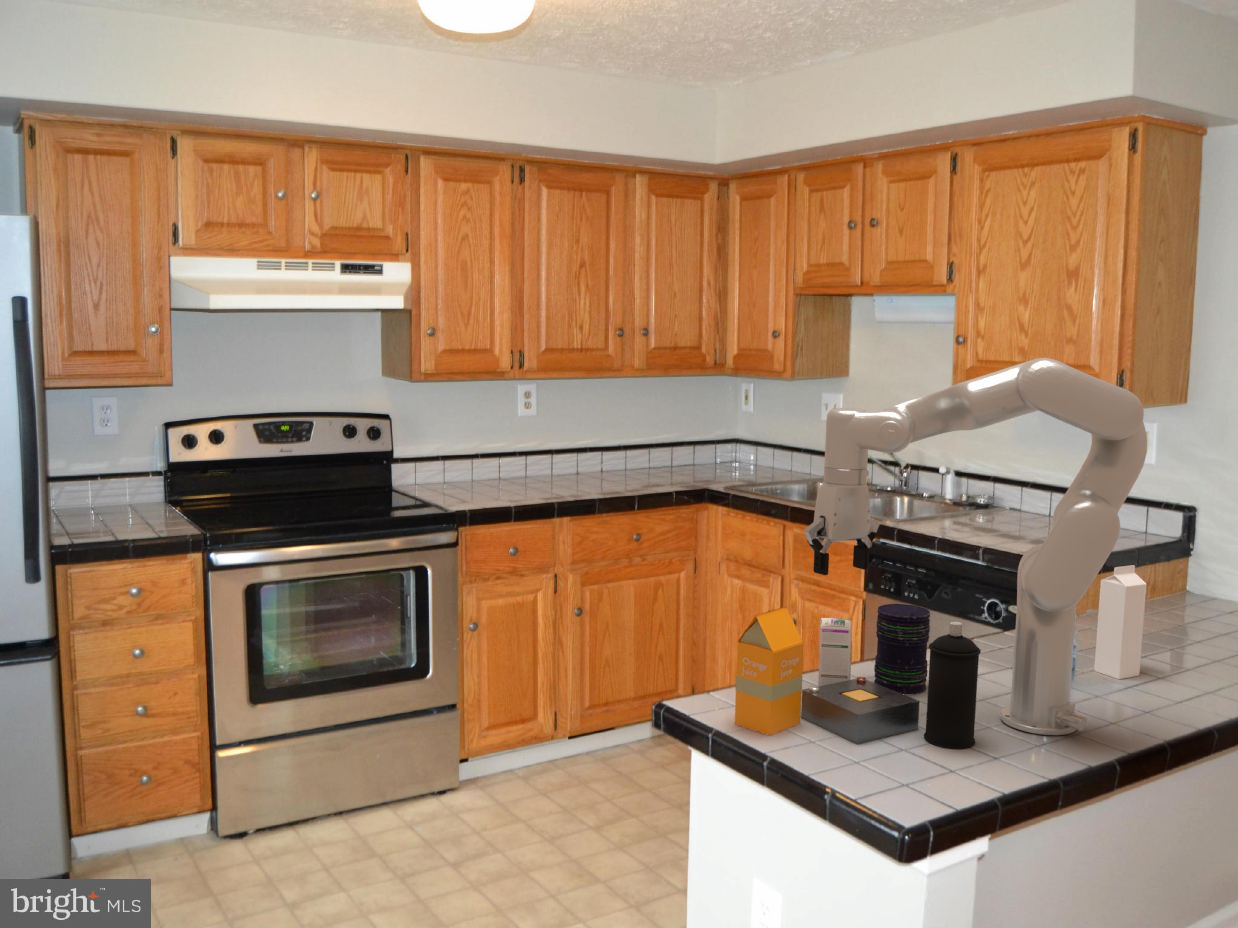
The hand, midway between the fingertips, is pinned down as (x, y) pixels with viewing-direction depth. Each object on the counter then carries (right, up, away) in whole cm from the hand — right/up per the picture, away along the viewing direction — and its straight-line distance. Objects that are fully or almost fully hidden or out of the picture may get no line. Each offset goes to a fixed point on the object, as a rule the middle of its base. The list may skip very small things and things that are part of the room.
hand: (840, 570), depth 196 cm
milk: (+60, -23, +22) cm, 68 cm away
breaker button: (+1, -23, -9) cm, 25 cm away
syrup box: (0, -24, +4) cm, 25 cm away
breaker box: (+1, -26, -9) cm, 27 cm away
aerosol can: (+15, -27, -16) cm, 34 cm away
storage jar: (+14, -24, +12) cm, 30 cm away
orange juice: (-15, -26, -9) cm, 31 cm away
